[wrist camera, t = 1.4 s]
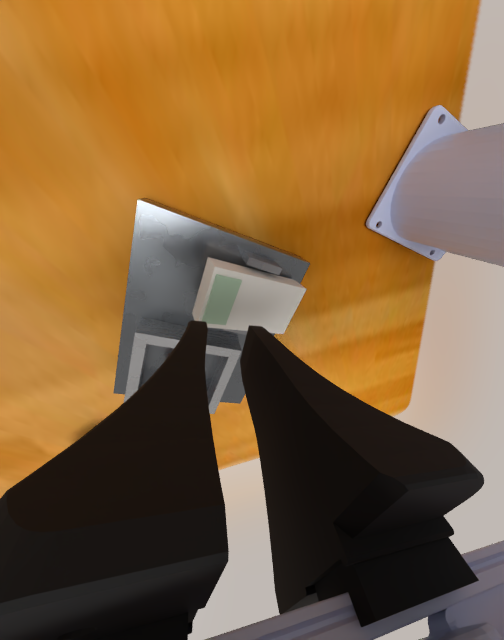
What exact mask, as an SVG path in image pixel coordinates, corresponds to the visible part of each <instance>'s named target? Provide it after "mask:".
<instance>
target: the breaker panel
mask: <svg viewBox="0 0 504 640" xmlns="http://www.w3.org/2000/svg"><path fill="white" fill-rule="evenodd" d="M208 257H210V258H213V259H217V260H221V261H225V262H229V263H232V264H236V265H240V266H244V267H248V268H251V269H255V270H259V271H263V272H267V273H270V274H274V275H278V276H282V277H285V278H289V279H293V280H295V281H297V282H298V283H299V284H300V283H301V281H302V279H303V277H304V275H305V273H306V271H307V269H308V267H309V265H310V263H309V262H307V261H306V260H304V259H303V258H301V257H300V256H297V255H295V254H292V253H289V252H287V251H284V250H282V249H279V248H276V247H274V246H271V245H268V244H266V243H263V242H260V241H258V240H255V239H252V238H250V237H247V236H245V235H242V234H239V233H237V232H234V231H231V230H229V229H226V228H223V227H221V226H218V225H215V224H213V223H210V222H208V221H205V220H202V219H200V218H197V217H194V216H192V215H189V214H186V213H184V212H181V211H178V210H176V209H173V208H171V207H168V206H165V205H163V204H160V203H157V202H155V201H152V200H149V199H147V198H142V199H138V201H137V209H136V217H135V225H134V233H133V241H132V249H131V257H130V265H129V274H128V282H127V290H126V298H125V306H124V314H123V322H122V330H121V338H120V346H119V354H118V362H117V370H116V378H115V386H114V393H116V394H125V399H124V402H125V401H127V400H128V399H129V398H130V397H131V396H132V395H133V394H134V393H135V392H136V391H137V390H138V389H139V388H140V387H141V386H143V385H144V384H145V382H146V381H147V380H148V379H149V378H150V377H151V376H152V375H153V374H154V373H155V372H156V371H157V370H158V368H159V367H160V366H161V365H162V364H163V363H164V361H165V360H166V359H167V357H168V356H169V355H170V354H171V352H172V351H173V350H174V348H175V347H176V345H177V344H178V342H179V341H180V339H181V337H182V336H183V334H184V332H185V330H186V328H187V325H188V322H190V321H191V320H193V321H195V320H194V317H193V315H192V312H193V308H194V305H195V301H196V297H197V294H198V290H199V287H200V283H201V280H202V276H203V273H204V269H205V266H206V262H207V259H208ZM207 328H208V327H207ZM271 334H272V335H273V336H274V335H275V333H271ZM246 335H247V331H242V330H231V329H219V328H208V333H207V344H206V355H205V375H206V387H207V396H208V405H209V413H210V414H214V413H215V411H216V409H217V406H218V404H219V402H228V403H241V401H242V399H243V397H244V395H245V390H244V386H243V382H242V375H241V367H240V358H241V354H242V351H243V347H244V343H245V339H246Z"/></svg>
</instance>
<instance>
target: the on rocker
mask: <svg viewBox="0 0 504 640" xmlns="http://www.w3.org/2000/svg"><path fill="white" fill-rule="evenodd" d="M305 291H306V288H305V287H303V286H302V285H301V284H299V283H298V282H297V281H295V280H293V279H289V278H285V277H282V276H278V275H274V274H270V273H267V272H263V271H259V270H255V269H251V268H248V267H244V266H240V265H236V264H232V263H229V262H225V261H221V260H217V259H213V258H210V257H208V259H207V262H206V266H205V269H204V273H203V276H202V280H201V283H200V287H199V290H198V294H197V297H196V301H195V305H194V308H193V312H192V315H193V317H194V320H195V321H205V322H206V323H207V327H208V328H219V329H231V330H242V331H248V327H249V325H252V326H262V327H263V328H265V329H266V330H267V331H268V332H269V333H277V334H284V332H285V330H286V328H287V326H288V324H289V322H290V320H291V318H292V316H293V314H294V312H295V311H296V309H297V307H298V305H299V303H300V301H301V299H302V297H303V295H304V293H305Z"/></svg>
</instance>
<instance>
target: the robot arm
mask: <svg viewBox="0 0 504 640" xmlns="http://www.w3.org/2000/svg"><path fill="white" fill-rule="evenodd" d="M439 117H440V121H439V123H438V119H439ZM378 222H379V224H378V226H377V227H376V224H377V223H378ZM366 226H367V227H368V228H369V229H371V230H373V231H375V232H377V233H379V234H381V235H383V236H385V237H387V238H389V239H391V240H393V241H395V242H397V243H399V244H401V245H403V246H405V247H407V248H409V249H411V250H413V251H415V252H417V253H419V254H421V255H423V256H425V257H427V258H429V259H431V260H434V261H438V260H439V259H441V258H442V256H443V255H444V254H445V252H450V253H453V254H457V255H461V256H465V257H469V258H472V259H476V260H480V261H484V262H488V263H492V264H496V265H499V266H503V267H504V123H503V124H498V125H493V126H489V127H484V128H479V129H474V130H469V131H468V130H467V129H466V128H465V127H464V126H463V125H462V124H461V123H460V122H459V121H458V120H457V119H456V118H455V117H453V116H452V115H451V114H450V113H449V112H448V111H447V110H446V109H445V108H444V107H443V106H441V105H438V106H435V107H433V108H431V109H430V110H429V112H428V113H427V115H426V117H425V119H424V120H423V122H422V124H421V126H420V127H419V129H418V131H417V133H416V135H415V136H414V138H413V140H412V142H411V143H410V145H409V147H408V149H407V150H406V152H405V154H404V156H403V158H402V159H401V161H400V163H399V165H398V166H397V168H396V170H395V172H394V173H393V175H392V177H391V179H390V180H389V182H388V184H387V186H386V188H385V189H384V191H383V193H382V195H381V196H380V198H379V200H378V202H377V203H376V205H375V207H374V209H373V211H372V212H371V214H370V216H369V218H368V219H367V222H366ZM430 251H431V252H430ZM207 333H208V328H207V323H206V322H205V321H193V320H191V321H190V322H188V325H187V328H186V330H185V332H184V334H183V336H182V337H181V339H180V341H179V342H178V344H177V345H176V347H175V348H174V350H173V351H172V352H171V354H170V355H169V356H168V357H167V359H166V360H165V361H164V363H163V364H162V365H161V366H160V367H159V368H158V370H157V371H156V372H155V373H154V374H153V375H152V376H151V377H150V378H149V379H148V380H147V381H146V382H145V384H144V385H143V386H141V387H140V388H139V389H138V390H137V391H136V392H135V393H134V394H133V395H132V396H131V397H130V398H129V399H128V400H127V401H125V402H124V403H123V404H122V405H121V406H120V407H119V408H118V409H116V410H115V411H114V412H113V413H111V414H110V415H109V416H108V417H106V418H105V419H104V420H103V421H102V422H100V423H99V424H98V425H97V426H95V427H94V428H93V429H92V430H90V431H89V432H88V433H87V434H85V435H84V436H83V437H82V438H80V439H79V440H78V441H76V442H75V443H74V444H72V445H71V446H70V447H68V448H67V449H65V450H64V451H62V452H61V453H60V454H58V455H57V456H55V457H54V458H53V459H51V460H50V461H48V462H47V463H46V464H44V465H43V466H41V467H40V468H39V469H37V470H36V471H34V472H33V473H32V474H30V475H29V476H27V477H26V478H25V479H23V480H22V481H20V482H19V483H17V484H16V485H14V486H13V487H12V488H10V489H9V490H7V491H6V493H5V494H4V495H3V496H2V498H1V499H0V640H187V639H188V638H187V637H188V634H190V633H192V622H193V619H194V617H195V615H196V613H197V610H198V609H201V608H204V607H205V606H206V603H207V601H208V600H209V598H210V596H211V594H212V592H213V590H214V588H215V586H216V584H217V582H218V580H219V578H220V576H221V574H222V572H223V570H224V568H225V566H226V564H227V562H228V539H227V527H226V514H225V504H224V498H223V493H222V488H221V483H220V478H219V471H218V465H217V459H216V454H215V448H214V442H213V435H212V428H211V421H210V413H209V405H208V396H207V387H206V375H205V355H206V344H207ZM240 367H241V375H242V382H243V386H244V390H245V394H246V398H247V401H248V405H249V409H250V413H251V417H252V420H253V424H254V428H255V433H256V437H257V443H258V449H259V455H260V461H261V469H262V476H263V482H264V490H265V497H266V506H267V514H268V523H269V532H270V541H271V552H272V562H273V572H274V584H275V593H276V598H277V603H278V608H279V613H280V615H278V616H275V617H272V618H269V619H266V620H263V621H260V622H257V623H254V624H251V625H248V626H245V627H242V628H239V629H236V630H233V631H230V632H227V633H224V634H221V635H218V636H215V637H211V638H209V639H206V640H374V639H376V638H378V637H380V636H383V635H385V634H388V633H390V632H392V631H394V630H397V629H399V628H402V627H404V626H406V625H409V624H411V623H414V622H416V621H418V620H421V619H423V618H425V617H428V625H429V630H430V634H429V636H428V637H426V638H422V639H419V640H504V541H501V542H498V543H495V544H492V545H489V546H486V547H483V548H480V549H477V550H474V551H471V552H468V553H464V554H462V555H461V554H460V553H459V551H458V550H457V548H456V547H455V546H454V544H453V543H452V542H451V540H450V539H449V537H450V536H452V535H453V534H454V531H453V529H452V527H451V526H450V524H449V523H448V522H447V520H446V519H445V518H444V515H445V514H447V513H448V512H449V511H451V510H452V509H454V508H455V507H457V506H458V505H460V504H461V503H463V502H464V501H466V500H467V499H468V498H470V497H471V496H473V495H474V494H475V493H476V492H478V491H479V490H480V489H481V487H482V486H483V484H484V478H483V475H482V474H481V473H480V472H479V471H478V470H477V469H476V468H475V467H474V466H473V465H472V464H471V463H470V462H469V460H468V459H466V457H465V456H464V455H463V454H462V453H461V452H459V451H458V450H457V449H456V448H455V447H454V446H453V445H452V444H451V443H449V442H447V441H445V440H443V439H440V438H438V437H436V436H434V435H431V434H429V433H426V432H424V431H422V430H420V429H417V428H415V427H413V426H411V425H408V424H406V423H404V422H402V421H400V420H398V419H395V418H394V417H392V416H390V415H388V414H386V413H384V412H382V411H380V410H378V409H376V408H374V407H372V406H370V405H368V404H366V403H365V402H363V401H361V400H359V399H358V398H356V397H354V396H352V395H351V394H349V393H347V392H346V391H344V390H342V389H341V388H339V387H338V386H336V385H335V384H333V383H332V382H330V381H329V380H327V379H326V378H324V377H323V376H321V375H320V374H318V373H317V372H316V371H314V370H313V369H312V368H310V367H309V366H308V365H307V364H305V363H304V362H303V361H301V360H300V359H299V358H298V357H297V356H295V355H294V354H293V353H292V352H291V351H290V350H288V349H287V348H286V347H285V346H284V345H283V344H282V343H281V342H279V341H278V340H277V339H276V338H275V337H274V336H273V335H272V334H271V333H269V332H268V331H267V330H266V329H265V328H263V327H262V326H252V325H249V327H248V331H247V335H246V339H245V343H244V347H243V351H242V354H241V358H240Z"/></svg>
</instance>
